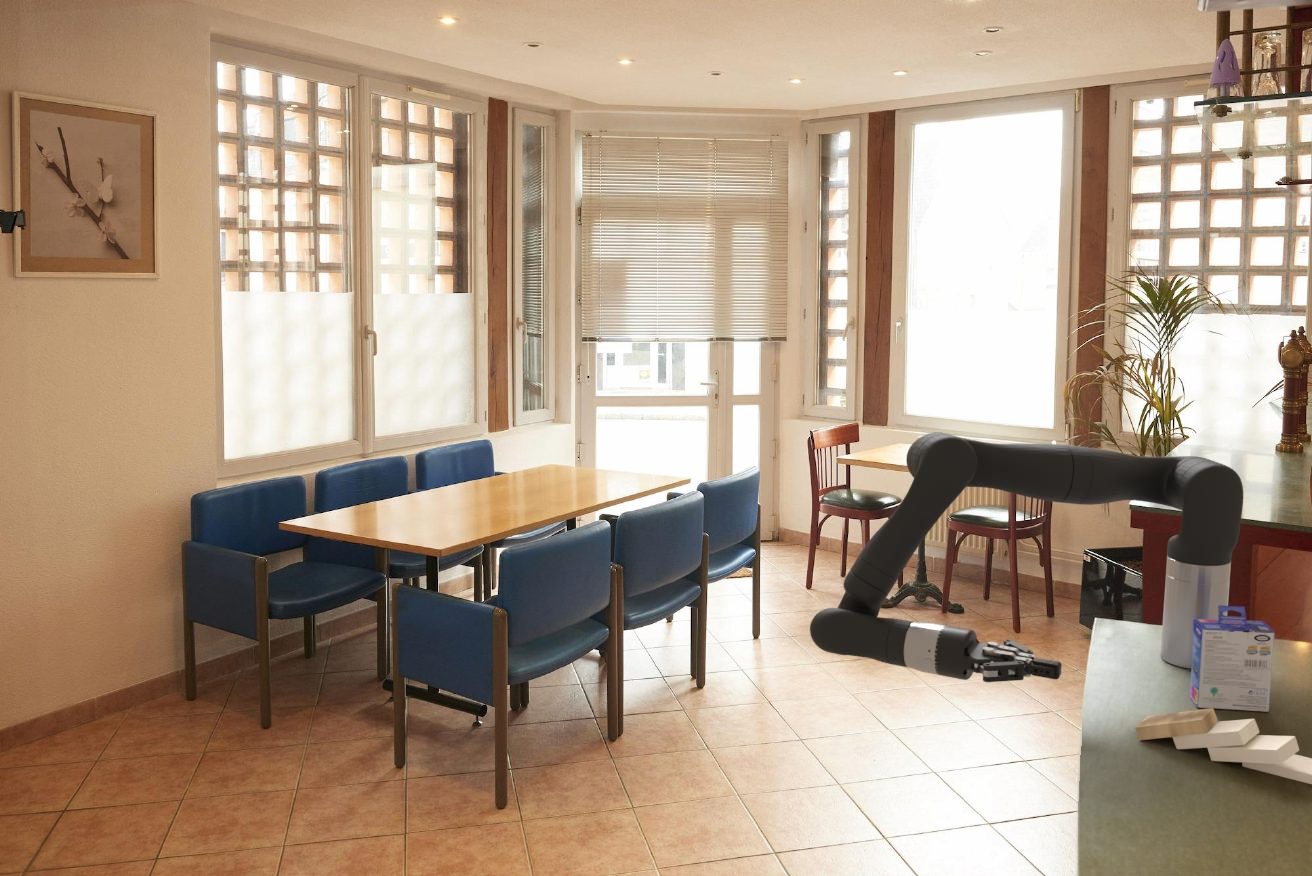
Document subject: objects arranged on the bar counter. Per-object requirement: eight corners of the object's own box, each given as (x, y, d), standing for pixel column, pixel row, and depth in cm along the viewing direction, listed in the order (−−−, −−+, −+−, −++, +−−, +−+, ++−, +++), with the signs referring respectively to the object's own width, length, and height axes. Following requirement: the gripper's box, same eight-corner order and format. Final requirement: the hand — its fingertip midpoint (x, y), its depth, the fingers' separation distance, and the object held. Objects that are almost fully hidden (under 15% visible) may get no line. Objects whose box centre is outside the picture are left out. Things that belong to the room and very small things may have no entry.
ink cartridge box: (1258, 698, 160) (1265, 605, 157) (1271, 713, 154) (1279, 617, 152) (1186, 694, 162) (1193, 601, 159) (1197, 709, 156) (1204, 613, 154)
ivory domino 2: (1226, 734, 143) (1295, 736, 136) (1230, 747, 143) (1299, 750, 136) (1207, 747, 140) (1276, 750, 133) (1211, 760, 140) (1280, 764, 133)
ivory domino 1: (1188, 724, 147) (1254, 718, 140) (1193, 736, 147) (1259, 732, 140) (1172, 736, 144) (1238, 731, 137) (1176, 749, 143) (1243, 745, 137)
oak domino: (1147, 716, 150) (1213, 708, 144) (1151, 728, 150) (1218, 721, 144) (1134, 727, 146) (1201, 719, 140) (1139, 740, 146) (1206, 733, 140)
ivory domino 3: (1251, 743, 142) (1330, 763, 136) (1250, 756, 142) (1329, 776, 137) (1242, 757, 138) (1323, 777, 133) (1241, 770, 139) (1322, 791, 133)
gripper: (926, 639, 155) (1051, 661, 146) (954, 613, 166) (1071, 631, 157) (925, 688, 157) (1048, 712, 148) (952, 659, 168) (1068, 680, 159)
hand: (1060, 671), depth 152 cm, fingers closed
